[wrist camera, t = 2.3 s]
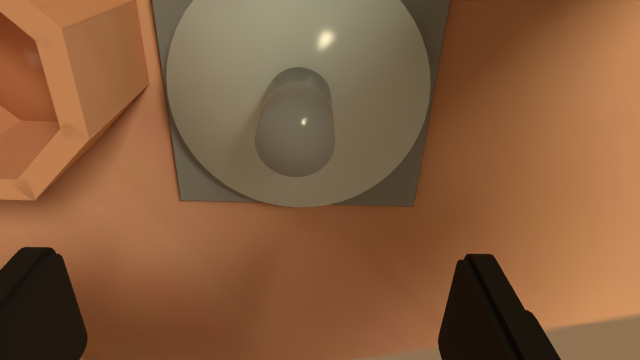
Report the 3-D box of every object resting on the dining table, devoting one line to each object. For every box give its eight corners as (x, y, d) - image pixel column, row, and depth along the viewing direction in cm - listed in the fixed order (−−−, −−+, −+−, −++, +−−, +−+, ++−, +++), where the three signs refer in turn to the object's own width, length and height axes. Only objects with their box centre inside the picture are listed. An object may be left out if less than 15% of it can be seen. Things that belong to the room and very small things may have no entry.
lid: (446, -44, 19) (496, -32, 14) (406, 199, 26) (429, 269, 21) (155, -57, 19) (93, -50, 14) (188, 193, 26) (155, 263, 20)
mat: (456, -56, 20) (460, -56, 19) (411, 201, 27) (413, 206, 26) (146, -70, 19) (141, -70, 19) (183, 194, 26) (180, 200, 26)
